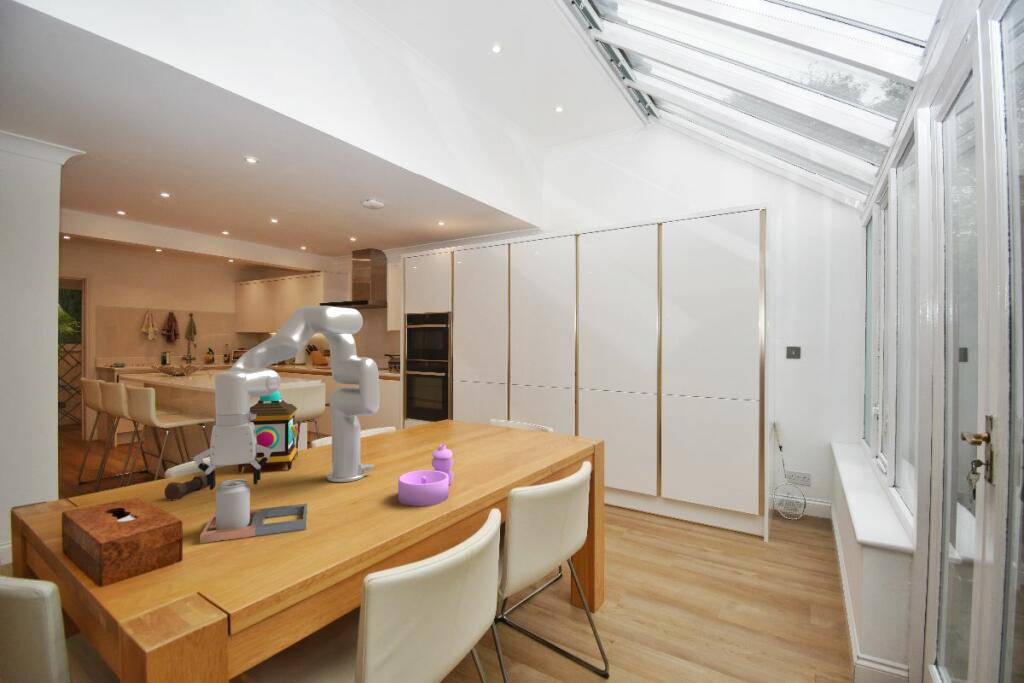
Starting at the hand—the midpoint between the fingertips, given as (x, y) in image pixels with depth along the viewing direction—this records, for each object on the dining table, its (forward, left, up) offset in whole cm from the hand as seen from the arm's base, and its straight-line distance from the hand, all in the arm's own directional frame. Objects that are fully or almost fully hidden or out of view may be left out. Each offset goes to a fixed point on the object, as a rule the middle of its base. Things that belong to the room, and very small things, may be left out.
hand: (234, 485), depth 120 cm
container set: (-53, -9, -11) cm, 55 cm away
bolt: (+17, -36, -11) cm, 42 cm away
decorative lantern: (-3, -60, -11) cm, 61 cm away
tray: (-6, +1, -11) cm, 12 cm away
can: (0, 0, -11) cm, 11 cm away
